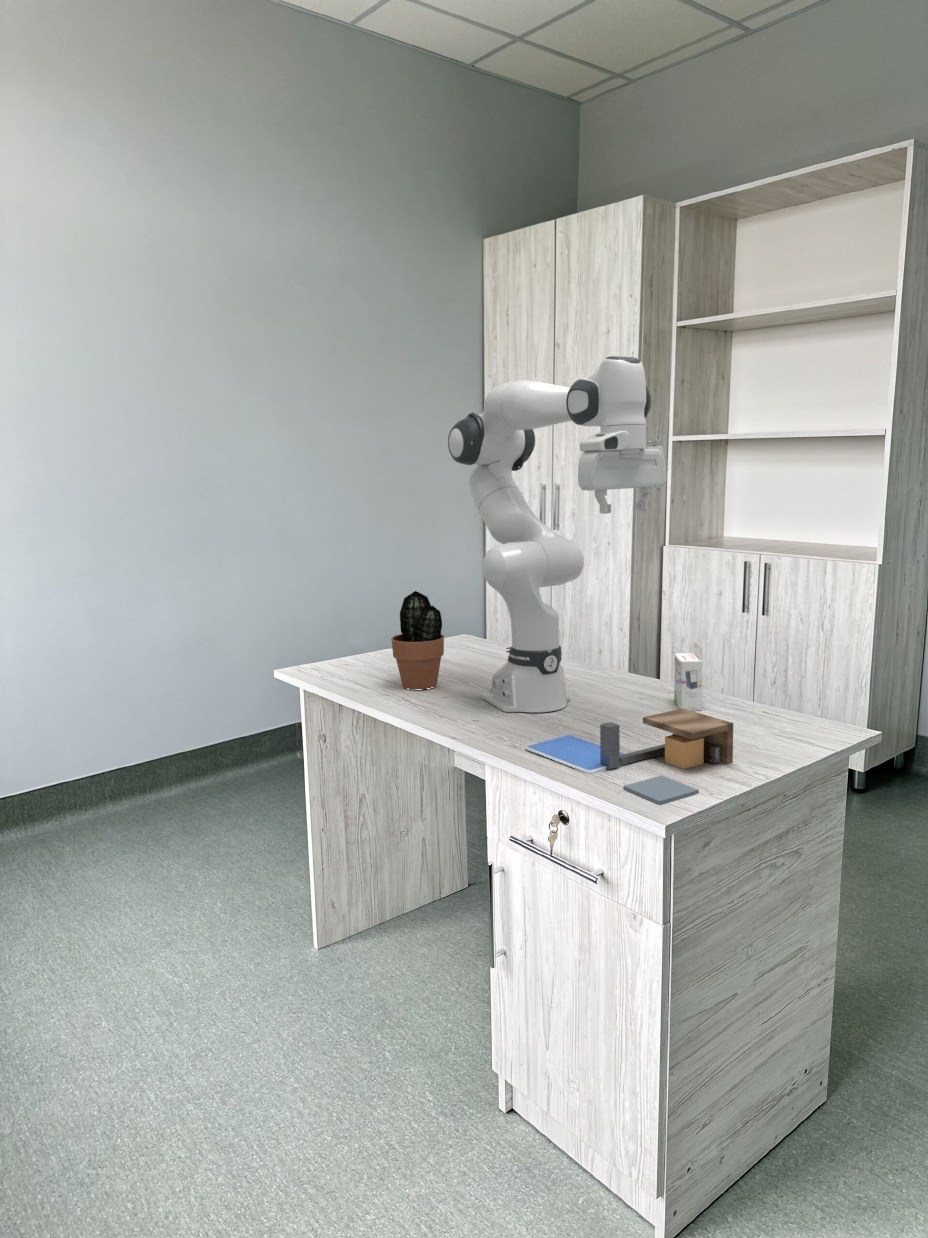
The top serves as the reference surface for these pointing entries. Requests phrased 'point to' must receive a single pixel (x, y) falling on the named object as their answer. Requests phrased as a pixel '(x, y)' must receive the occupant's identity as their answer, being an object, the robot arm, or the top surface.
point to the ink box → (688, 679)
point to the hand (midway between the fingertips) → (623, 512)
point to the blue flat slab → (571, 753)
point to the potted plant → (418, 642)
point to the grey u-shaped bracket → (614, 759)
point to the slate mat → (661, 789)
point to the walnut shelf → (696, 728)
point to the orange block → (684, 751)
